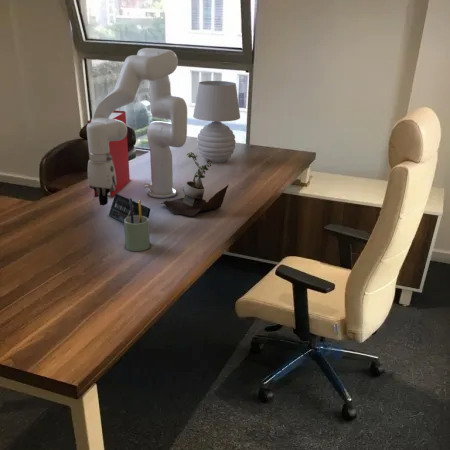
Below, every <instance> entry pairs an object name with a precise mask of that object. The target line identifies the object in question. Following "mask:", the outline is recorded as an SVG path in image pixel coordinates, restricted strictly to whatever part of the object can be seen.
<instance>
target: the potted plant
mask: <svg viewBox="0 0 450 450" xmlns="http://www.w3.org/2000/svg"><path fill="white" fill-rule="evenodd" d="M186 156H187V157H188V158H192V160H193V162H194V164H195V165H196V166H197V168H198V169H197V171H195V173H194V176H193V178H192V180H191V181H190V180H189V181H186V182H185V185H184V188H183V189H182V192H183V194H184V197H178V198H175V199H172V200H164V201H163V202H161V203H160V205H162V204H163V205H164V206H165V208H166V209H167V210H168V211H169V212H171V213H172V214H173V215H174V216H175V215H184V216H186V217H194V216H195V215H196V214H198V213H200V212H204V211H209V210H218V209H221V207H222V205H223V202H224V200H225V197H226V193H227V190H228V187H229V186H230V185H229V184H227V185H226V186H225V187H223V188H221V189H220V190H219V191H217V192H216V193H215V194H214V195H213V196H212V197H210V198H209V199H208V201H206V199H204V194H205V186H204V184H203V181H202V179H205V178H206V176H205V175H206V173H207V171H209V167H212V164H213V162H212V161H210V160H208V161H207V160H206V163H207V164H205V165H201V166H200V164H199V162H197V160H198V159H197V157H198V155H195V153H194V152H192V151H191V152H188V153H187V154H186Z"/></svg>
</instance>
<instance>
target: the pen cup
mask: <svg viewBox="0 0 450 450" xmlns="http://www.w3.org/2000/svg"><path fill="white" fill-rule="evenodd" d="M128 199H129V200H130V215H131V216H130V217H127V218H125V219H124V223H123V229H124V239H125V240H124V241H125V248H126V249H127V250H128V251H130V252H131V251H132V252H143V251H146V250H148V249H149V248H150V247H151V242H150V223H149V221H150V220H149V218H147V217H144V216H142V215H141V205H142V201H141V200H140V199H139V200H138V201H137V203H138V204H139V216H133V204H132V201H133V198H132V197H129V198H128Z"/></svg>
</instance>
